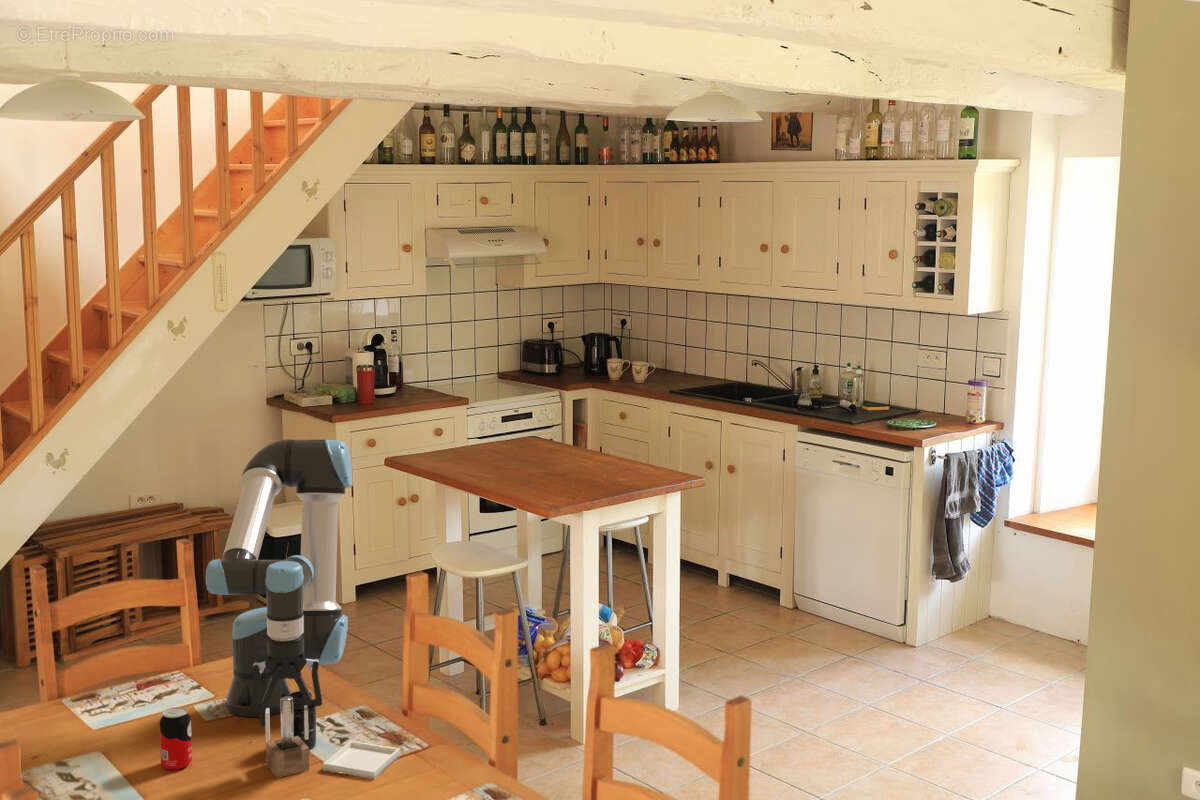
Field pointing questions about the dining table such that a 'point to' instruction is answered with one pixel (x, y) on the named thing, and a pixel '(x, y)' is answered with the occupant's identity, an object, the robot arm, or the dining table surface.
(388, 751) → the tray
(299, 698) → the supplement bottle
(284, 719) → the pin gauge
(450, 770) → the dining table surface
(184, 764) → the beverage can
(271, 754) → the brown peg holder block
